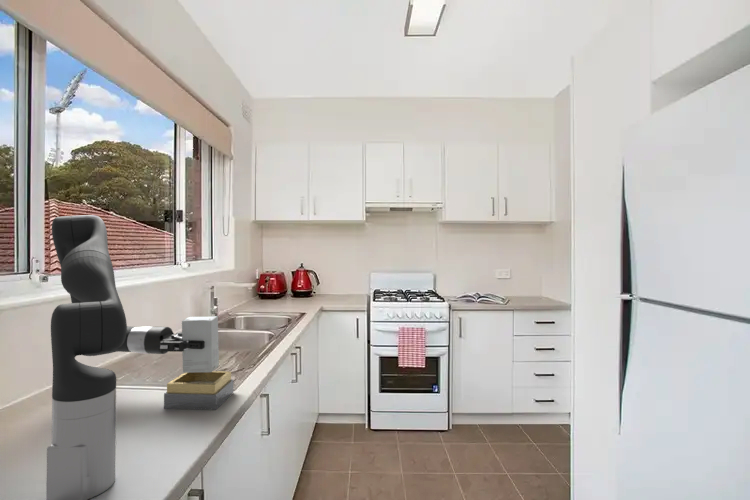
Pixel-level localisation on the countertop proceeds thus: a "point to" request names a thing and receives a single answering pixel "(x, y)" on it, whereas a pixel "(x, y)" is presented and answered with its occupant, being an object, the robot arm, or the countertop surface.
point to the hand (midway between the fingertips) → (209, 341)
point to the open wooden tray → (198, 390)
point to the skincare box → (209, 354)
